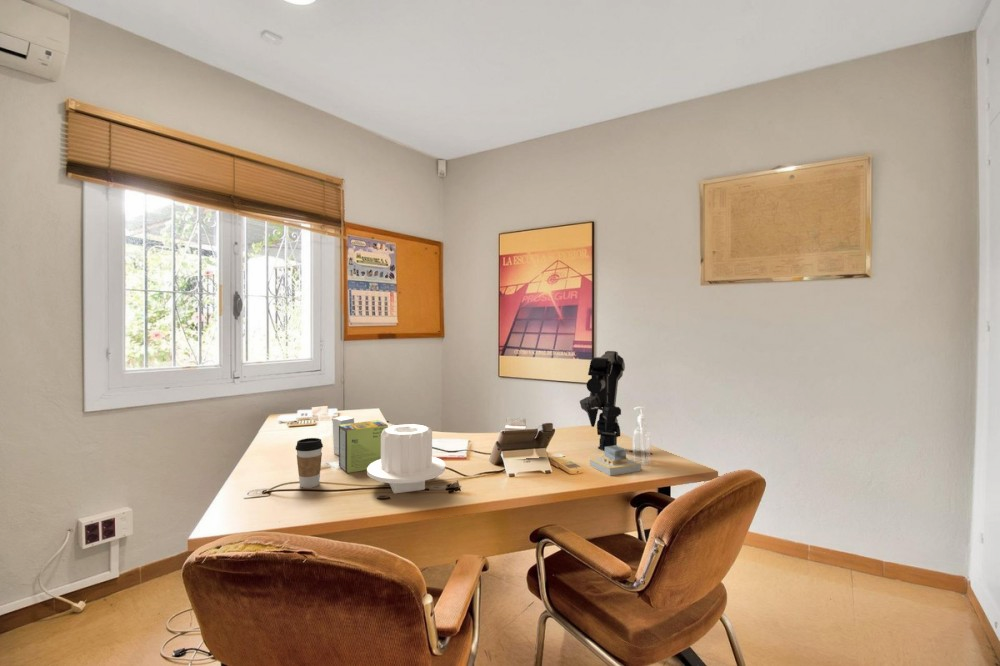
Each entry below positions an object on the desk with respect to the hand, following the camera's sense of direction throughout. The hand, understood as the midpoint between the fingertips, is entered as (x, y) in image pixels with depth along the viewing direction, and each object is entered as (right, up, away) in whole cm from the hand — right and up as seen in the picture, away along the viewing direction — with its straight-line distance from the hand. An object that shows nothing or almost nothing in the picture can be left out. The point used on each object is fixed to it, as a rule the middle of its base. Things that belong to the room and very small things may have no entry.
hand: (599, 429), depth 183 cm
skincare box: (-102, -11, +5) cm, 103 cm away
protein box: (-90, -12, -9) cm, 91 cm away
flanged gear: (-70, -13, -30) cm, 77 cm away
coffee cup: (-102, -12, -29) cm, 107 cm away
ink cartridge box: (-33, -12, +5) cm, 35 cm away
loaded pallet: (+4, -10, -10) cm, 14 cm away
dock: (+4, -12, -10) cm, 16 cm away
